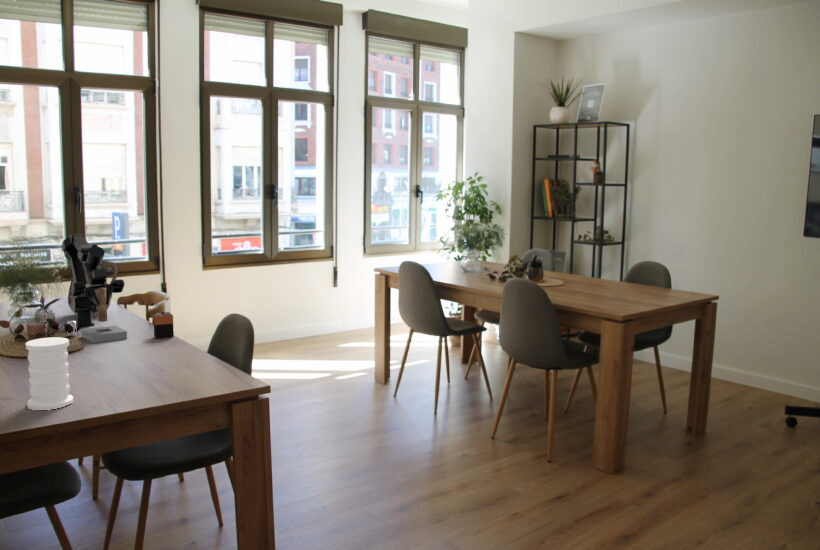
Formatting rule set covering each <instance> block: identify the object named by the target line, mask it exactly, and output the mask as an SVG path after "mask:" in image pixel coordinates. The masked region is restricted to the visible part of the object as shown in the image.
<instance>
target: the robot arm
mask: <svg viewBox="0 0 820 550" xmlns="http://www.w3.org/2000/svg"><path fill="white" fill-rule="evenodd" d="M61 251H62V252H63V254H64V257H65V259H67V260H68V261H69V263H70V267H71V273H72V275H73V277H74V282H75V283H74V284H73V286H72V290H71V291H72V296H74V298H73V302H72V306H71V307H72V310H71V311H72V312H73V313H74V314H75V313H76V312H77V315H76V327H78V328H83V327H89V326H91V327H92V326H95V325H96V324H95V323H94V322H93V320H92V319H93V318H92V317H93V316H92V315H91V311H96V305H97V306H99V301H98V299H97V296H96V293H95V290H97V288H106V299H107V305H109V297H110V295H112V296H113V294H117V293H118V294H120V293H122V292H123V290H124V287H125V281H124V279H116V280H113V281H112V284H110V283H108V284H105V282H106V281H107V278H108V277H111V276H113V271H112V268H111V266H109V267H108V266H107V267H105V268H103V269H101V267H100V264H102V261H103V260H104V256H105V253H106V252H105V249H103V248H102V247H100V246H98V244H92V245H91V244H89V243H88V241H87V240H86V238H85V236H84V234H82V233H74V234H70V235H69V236H68V237H66V238H64V239H63V241H62V242H61ZM82 262H85V264H84V267H85V271H86V275H87V278H88V279H87V281H88V282H89V284H87V282H86V277H85V273H84V268H83V264H82ZM107 282H108V281H107ZM109 306H110V305H109ZM76 308H77V309H76ZM79 326H81V327H79Z"/></svg>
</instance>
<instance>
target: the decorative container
mask: <svg viewBox="0 0 820 550" xmlns="http://www.w3.org/2000/svg"><path fill="white" fill-rule="evenodd" d="M69 346H70V340H69V339H68V337H67V338H65V337H54V336H53V337H51V336H50V337H41V338H40V337H39V338H35V339H31V340H28V341H26V342H25V349H26V350H27V351H28V354H27V361H28V362H29V364H28V368H27V369H28V372H29V378H28V381H29V382H28V383H29V384H30V387H29V394H30V397H31V398H30V399H29V400H28V401H27V404H26V405H27V408H28V409H29V410H31V409H32V411H36V410H48V411H52V410H51V409H56V410H58V409H57V408H61V407H64V406H66V405H69V404H70V403H72V402H73V403H74V396H73V395H72V394H70V389H71V386H70V383H69V380H70V374H69V370H68V369H69V366H70V364H69V362H68V358H69V352H68V348H67V347H69ZM73 403H72V404H73ZM69 406H70V405H69ZM64 408H65V407H64ZM61 409H62V408H61Z"/></svg>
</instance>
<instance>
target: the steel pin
mask: <svg viewBox="0 0 820 550" xmlns="http://www.w3.org/2000/svg"><path fill="white" fill-rule="evenodd" d="M76 323H77V320H67V321H66V325H67V324H70V325H71V326H72V327H73V332H71V333H68V332H67V337H68V336H76V335H77V334H78V333H77V332H78V331H77V326H76ZM75 329H76V332H75ZM76 337H77V336H76Z"/></svg>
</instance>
